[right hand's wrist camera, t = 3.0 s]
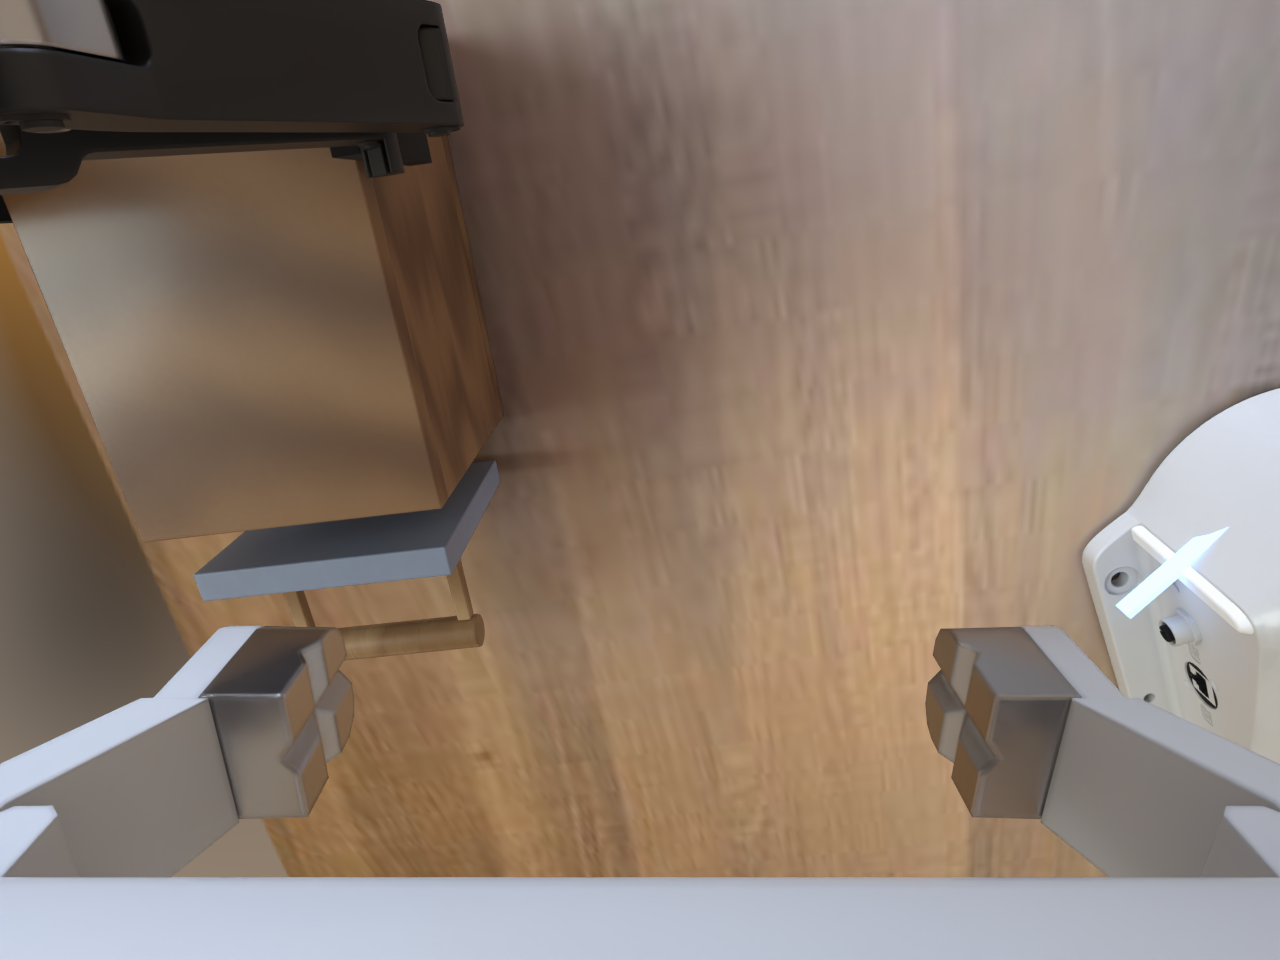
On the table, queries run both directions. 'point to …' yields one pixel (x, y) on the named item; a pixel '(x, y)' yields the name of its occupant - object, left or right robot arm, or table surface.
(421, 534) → the drawer
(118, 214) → the cabinet
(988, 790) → the right robot arm
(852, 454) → the table surface
